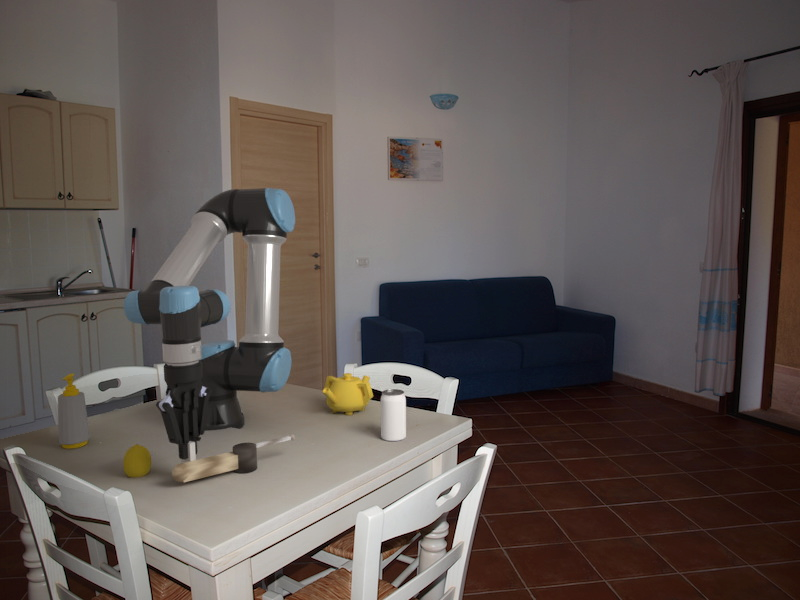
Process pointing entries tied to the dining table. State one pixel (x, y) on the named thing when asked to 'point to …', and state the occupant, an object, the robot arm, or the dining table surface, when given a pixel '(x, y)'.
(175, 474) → the tan long two-tone device
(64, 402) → the soap bottle
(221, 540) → the dining table surface
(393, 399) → the can
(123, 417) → the dining table surface
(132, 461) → the lemon
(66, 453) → the dining table surface
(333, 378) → the teapot
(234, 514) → the dining table surface
